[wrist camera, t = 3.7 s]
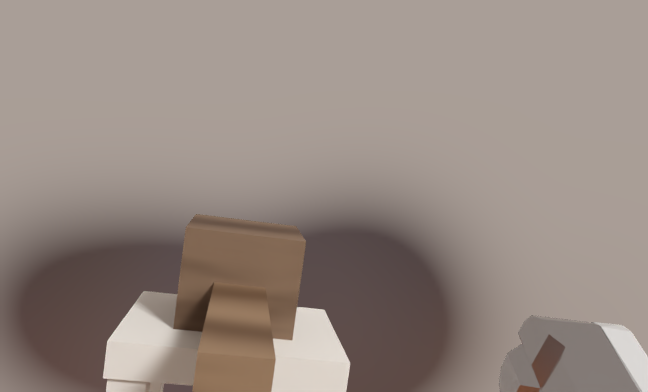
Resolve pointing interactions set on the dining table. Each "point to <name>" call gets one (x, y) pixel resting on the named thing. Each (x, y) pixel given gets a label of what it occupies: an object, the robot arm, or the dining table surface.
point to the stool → (182, 346)
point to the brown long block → (238, 298)
